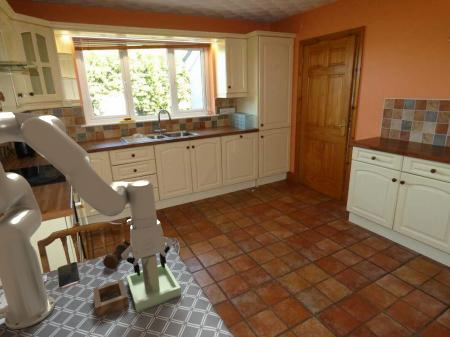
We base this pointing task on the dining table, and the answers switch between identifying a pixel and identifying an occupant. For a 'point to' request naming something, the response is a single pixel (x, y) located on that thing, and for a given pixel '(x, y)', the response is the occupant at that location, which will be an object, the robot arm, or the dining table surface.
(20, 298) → the robot arm
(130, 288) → the tray
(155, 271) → the box
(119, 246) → the bolt
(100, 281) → the dining table surface
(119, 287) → the frame
